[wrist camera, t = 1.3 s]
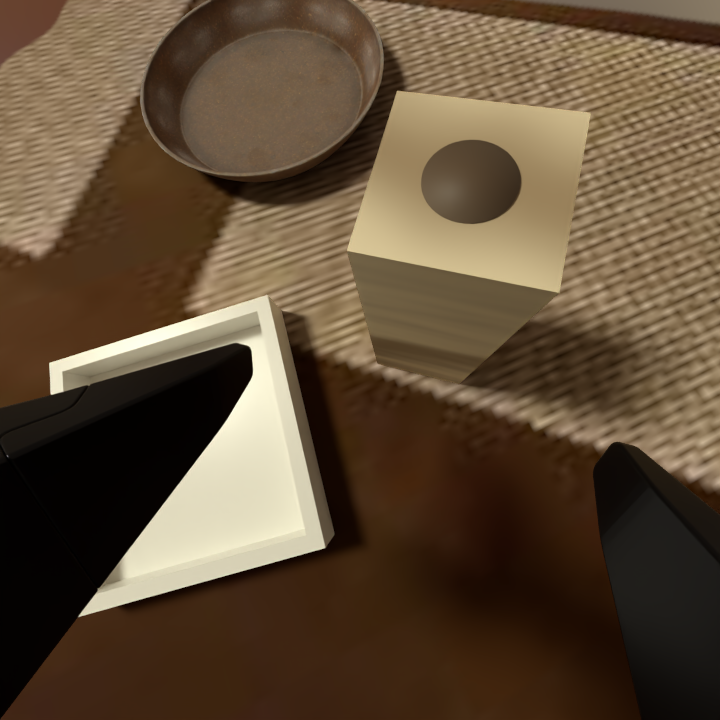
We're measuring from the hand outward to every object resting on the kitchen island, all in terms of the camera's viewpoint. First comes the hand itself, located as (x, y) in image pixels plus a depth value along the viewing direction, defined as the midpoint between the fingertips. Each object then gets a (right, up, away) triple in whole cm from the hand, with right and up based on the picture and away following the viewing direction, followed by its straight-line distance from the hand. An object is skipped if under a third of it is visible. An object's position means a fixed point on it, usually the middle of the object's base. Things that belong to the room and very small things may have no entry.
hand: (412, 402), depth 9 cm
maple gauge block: (+3, +3, +13) cm, 13 cm away
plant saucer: (-8, +21, +19) cm, 29 cm away
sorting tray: (-11, -4, +13) cm, 17 cm away
